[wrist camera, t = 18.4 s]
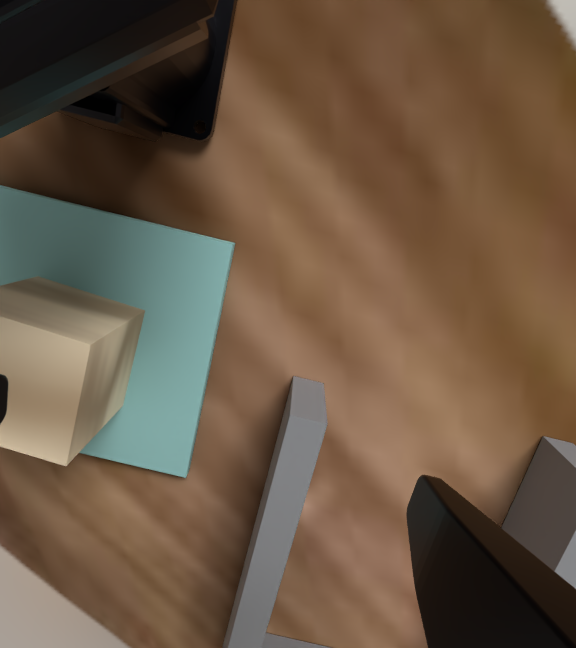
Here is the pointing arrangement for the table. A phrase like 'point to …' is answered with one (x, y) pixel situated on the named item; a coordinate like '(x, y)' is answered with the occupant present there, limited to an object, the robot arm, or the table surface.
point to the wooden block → (62, 365)
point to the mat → (138, 291)
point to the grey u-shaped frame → (291, 489)
